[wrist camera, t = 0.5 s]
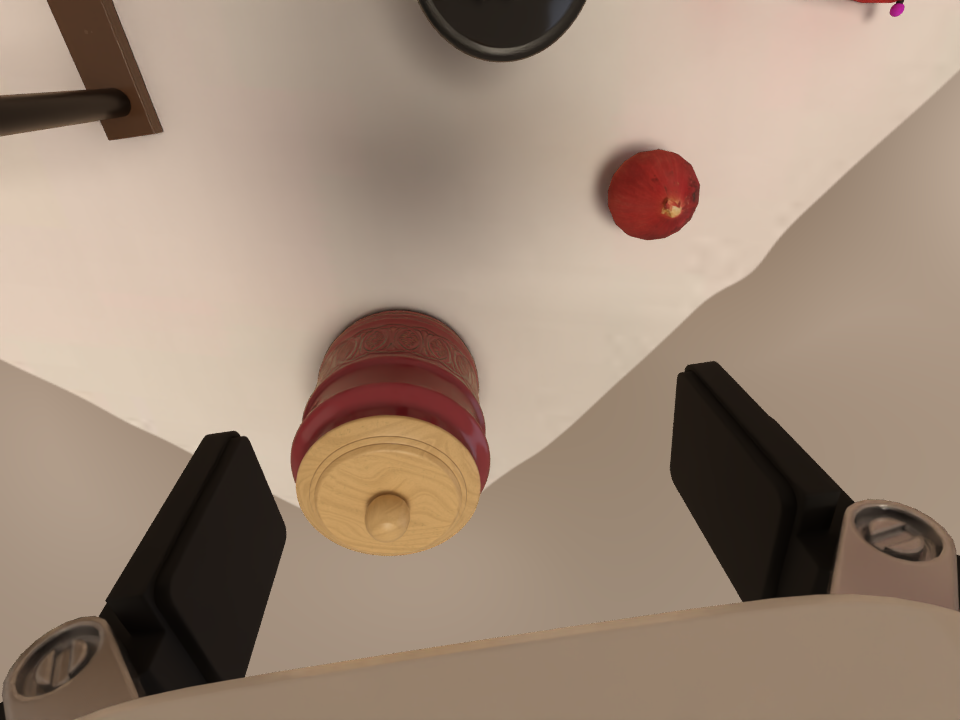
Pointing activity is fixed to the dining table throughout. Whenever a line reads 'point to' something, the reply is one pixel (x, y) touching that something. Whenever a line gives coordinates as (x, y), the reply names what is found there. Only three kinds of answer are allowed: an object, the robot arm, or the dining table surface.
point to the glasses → (894, 10)
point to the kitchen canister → (392, 437)
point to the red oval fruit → (653, 194)
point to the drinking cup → (501, 25)
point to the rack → (88, 79)
